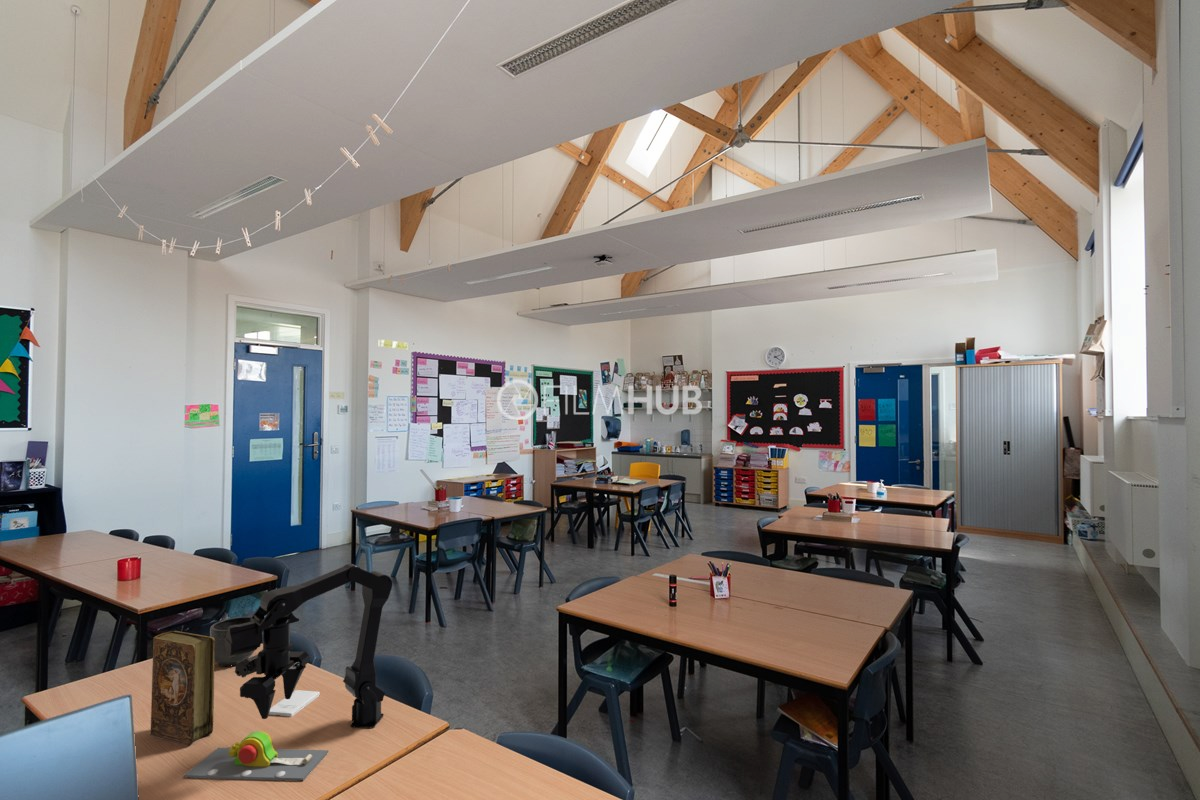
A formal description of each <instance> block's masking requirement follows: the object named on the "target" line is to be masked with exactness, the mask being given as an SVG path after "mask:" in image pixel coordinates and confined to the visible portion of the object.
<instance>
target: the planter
mask: <svg viewBox="0 0 1200 800" xmlns="http://www.w3.org/2000/svg"><path fill="white" fill-rule="evenodd" d="M251 617H252V616H239V617H231V618H227V619H222V620H220V621H217V622H215V623H213V624H212V625H211V626H210V628H209V637H213V638H214V639H215V660H214V662H216V663H218V664H219V665H220V666H221V665H222V666H221V667H225V666H228V667H232V666H231V665H235V666H236V663H238V662H239V661H241V660H242V661H243V660H244V659H248V658H250V657H252V655H253V654H254V653H255V651H256V650H254V651H250V652H247V653H243V654H239V655H236V656H232V657H228V656H227V654H226V649H225V638H226V634H227V632H228V627H229V626H231V625H239V624H243V623H248V622H252V621H251Z"/></svg>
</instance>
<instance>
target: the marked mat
mask: <svg viewBox="0 0 1200 800" xmlns="http://www.w3.org/2000/svg"><path fill="white" fill-rule="evenodd" d="M230 748H231V747H217V748H215V750H213V751H212V752H211V753H209V754H208V755H207V756H206V757H204V758H203V759H202V760H201V761H200V762H198V763H197V764H196V765H195V766H193V767H192V768H191V769H190V770H188V771H187V772H186V773H184V774H183V778H184V777H190V778H189V779H209V780H211V779H216V780H217V779H218V780H245V781H246V780H248V781H249V780H251V781H256V780H257V781H282V780H291V781H293V782H295V781H296V782H299V781H298V780H304V781H305V780H306V779H307V777H308V776H309V775H310V774H311V773H312V772H313V771H314V769H316V767H317V766H318V765H319V764H320V763H321V762H322V761H323V760H324V758H325V757H326V756H327V755H328V754H329V753H328V752H329V750H328V749H298V748H297V749H295V748H293V749H291V748H274V750H275V751H276V752H277V753H278V758H305V757H306V756H307V755H309V754H311V755H312V759H311V760H310V761H309V762H308V763H307V764H305V765H304V764H302V765H286V764H281V763H271V764H270V765H269V766H268V767H256V766H245V765H235V764H234V761H235V759H236V757H231V756H230V755H229V750H230ZM327 753H328V754H327ZM321 760H322V761H321ZM311 771H312V772H311ZM310 772H311V773H310ZM291 781H290V782H291Z"/></svg>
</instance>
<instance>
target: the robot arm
mask: <svg viewBox="0 0 1200 800" xmlns="http://www.w3.org/2000/svg"><path fill="white" fill-rule="evenodd" d="M351 582H354V583H356V584H358V585H361V587H362V589H361V591H362V592H361V593H362V594H361V595H362V600H363V604H364V608H363V613H362V620H361V625H360V630H359V631H360V632H359V638H358V644H357V649H356V655H355V658H354V659H355V660H354V661H353V663H352V664H351V665H350V666H346V667H345V675H344V679H342V683H344V687H345V689H346V690H347V691H348V692H349V693H350V694H351V696H353V697H355V699H354V700H353V705H352V706H351V721H352V723H351V724H350V728H366V729H367V728H369V729H370V728H371V729H372V728H373V729H374V728H375V727H376V725H377V724H379V722H380V721H381V719H383V718H384V713H382V701H384V697H385V694H386V692H385V691H384V690H383V689H381V688H380V687H378V686H377V672H376V667H375V655H376V650H377V649H376V648H377V643H378V638H379V631H380V626H381V625H380V624H381V619H382V614H383V608H384V606H385V605H386V603H387V601H388V600H389V598H390V595H391V591H392V589H393V585H394V584H393V580H392V578H391V577H390V576H389V575H386V574H385V573H382V572H379V571H377V570H373V571H370V572H369V571H367V570H364V569H362V568H361V567H359V566H358V565H355V564H353V563H347V564H345V565H343V566H341V567H339V568H336V569H335V570H332V571H329V572H327V573H324V574H322V575H320V576H318V577H315V578H313V579H310V580H308V581H307V580H306V582H302V583H300V584H296V585H290V586H283V587H280V588H274V589H271V590H269V591H267V592H265V593H264V594H263V596H262V597H261V600H260V604H259V606H258V608H257V609H256V610H255V612H254V613H253V615H252V616H250V617H251V621H252V622H248V623H243V624H239V625H231V626H229V627H228V632H227V634H226V638H225V649H226V654H227V656H228V657H232V656H236V655H239V654H243V653H247V652H250V651H254V650H255V651H257V650H258V649H259V648H261V645H262V649H261V650H259V651H258V652H257V654H256V655H253V656H250V657H249V658H248V659H244V660H243V661H242V660H241V661H239V662H238V663H236V665H235V669H234V670H235V671H234V673H235V674H236V676H238V677H241V678H246V677H247V676H249V675H252V674H254V673H256V675H262V674H263V675H264V676H253V677H251V678H250V679H249V680H247V681H246V682H244V683H243V684H242V685H241V686H240V687H239V697H240V698H245V699H251V700H252V701H253V702H254V704H255V706H256V708H257V710H258V713H259V715H260V717H261V719H262V720H267V719H268V717H269V716H270V715H269V712H270V708H271V707H272V703H273V701H274V697H275V694H276V689H275V687H276V680H277V679H278V678H280V677H281V676H282V681H283V684H282V685H283V693H284V694H283V695H284V698H285V699H290V698H291V696H292V693H293V692H294V691H295V689H296V687H297V685H298V683H299V680H300V678H301V677H302V674H303V672H304V670H305V669H306V667H307V666H306V665H308V663H310V655H309V654H308V652H306V651H293V649H294V646H295V644H294V643H291V642H290V641H291V638H290V637H291V635H290V633H291V632H290V631H291V630H290V629H291V624H295V623H298V622H299V621H300V618H299V617H297V616H296V615H295V614H293V612H295V611H297V610H298V609H299V608H300V607H301V606H302V605H303V604H305V603H306V602H308V601H309V600H312V599H314V598H317V597H319V596H322V595H324V594H325V593H328V592H331V591H332V590H335V589H337V588H339V587H341V586H344V585H347V584H349V583H351ZM291 650H292V651H291ZM255 651H254V652H255Z"/></svg>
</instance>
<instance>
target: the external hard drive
mask: <svg viewBox="0 0 1200 800" xmlns="http://www.w3.org/2000/svg"><path fill="white" fill-rule="evenodd" d="M319 695H321V694H320V691H314V690H300V689H299V690H298V689H296V690H295V689H294V691H293V693H292V696H291V698H290V699H285V697H284V698H283V699H281V700H279V701H278V702H277V703H275V704H274V705H273V706H271V708H270V712H269V715H268V716H280V717H293V716H295V715H296V714H297V713H299V712H300V711H301V710H302V709H303V708H305V707H307V706H308V705H309V704H310V703H312V702H313V701H315V700H316V699H317V698H318V697H319Z"/></svg>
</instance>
